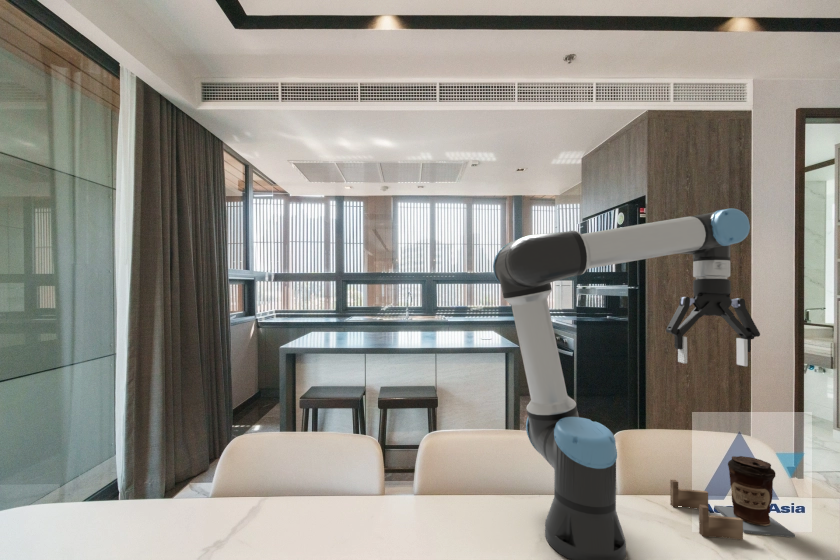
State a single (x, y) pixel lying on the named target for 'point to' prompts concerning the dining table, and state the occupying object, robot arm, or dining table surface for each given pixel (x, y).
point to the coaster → (748, 527)
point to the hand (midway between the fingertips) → (712, 364)
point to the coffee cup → (751, 489)
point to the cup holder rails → (706, 513)
